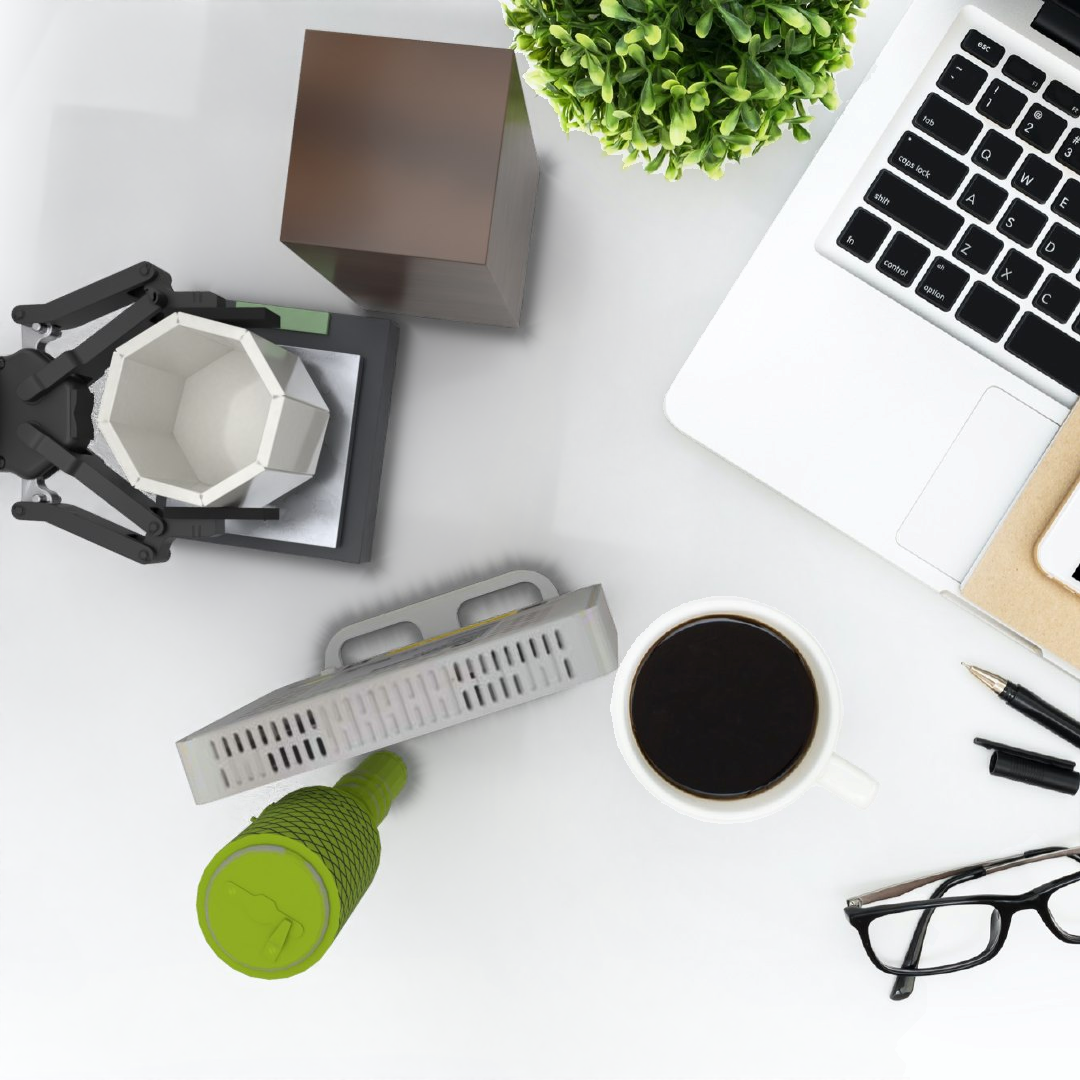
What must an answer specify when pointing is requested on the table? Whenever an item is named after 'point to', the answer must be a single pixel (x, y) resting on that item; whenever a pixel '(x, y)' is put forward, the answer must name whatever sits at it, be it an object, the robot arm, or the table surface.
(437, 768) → the table surface
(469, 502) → the table surface
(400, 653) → the network device
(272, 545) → the scale
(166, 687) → the table surface
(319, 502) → the scale pan
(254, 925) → the microphone
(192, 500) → the cup
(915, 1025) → the table surface
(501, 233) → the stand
